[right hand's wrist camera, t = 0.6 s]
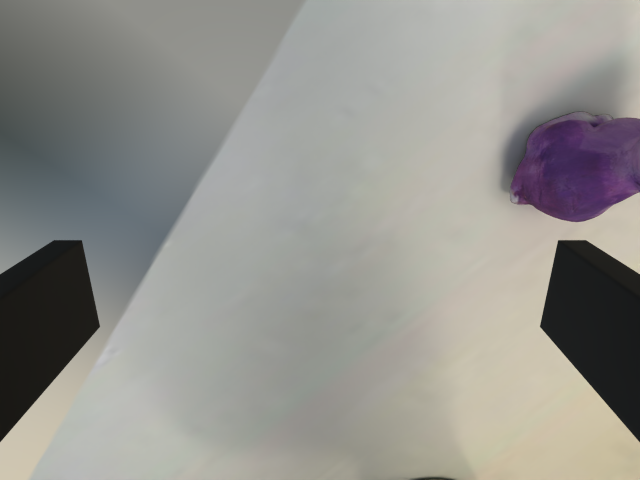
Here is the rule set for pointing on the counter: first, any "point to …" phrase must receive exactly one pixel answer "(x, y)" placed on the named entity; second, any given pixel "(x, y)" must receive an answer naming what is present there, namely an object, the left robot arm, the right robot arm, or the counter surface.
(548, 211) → the figurine
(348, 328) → the counter surface
